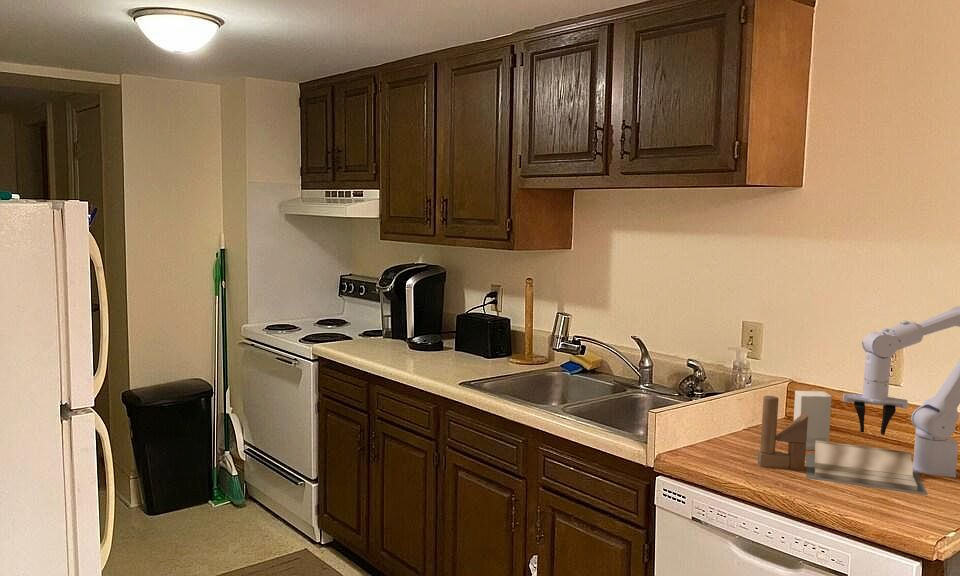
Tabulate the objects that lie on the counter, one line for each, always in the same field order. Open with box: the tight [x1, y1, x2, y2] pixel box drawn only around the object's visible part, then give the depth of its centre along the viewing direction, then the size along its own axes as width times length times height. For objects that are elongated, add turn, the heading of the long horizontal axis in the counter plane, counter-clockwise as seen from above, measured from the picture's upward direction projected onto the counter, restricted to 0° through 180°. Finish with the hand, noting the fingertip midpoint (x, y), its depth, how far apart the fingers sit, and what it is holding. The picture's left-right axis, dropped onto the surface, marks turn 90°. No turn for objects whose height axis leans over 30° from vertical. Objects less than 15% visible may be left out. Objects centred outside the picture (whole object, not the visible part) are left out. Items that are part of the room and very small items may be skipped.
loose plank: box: [814, 440, 913, 476], centre depth 200 cm, size 22×8×1 cm, turn 68°
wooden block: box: [757, 395, 808, 471], centre depth 200 cm, size 4×11×18 cm, turn 82°
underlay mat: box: [805, 452, 929, 496], centre depth 197 cm, size 26×22×1 cm
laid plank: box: [815, 463, 917, 491], centre depth 192 cm, size 22×8×1 cm, turn 68°
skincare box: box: [793, 390, 833, 452], centre depth 218 cm, size 8×7×16 cm
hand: (872, 432), depth 201 cm, fingers open, 4 cm apart
